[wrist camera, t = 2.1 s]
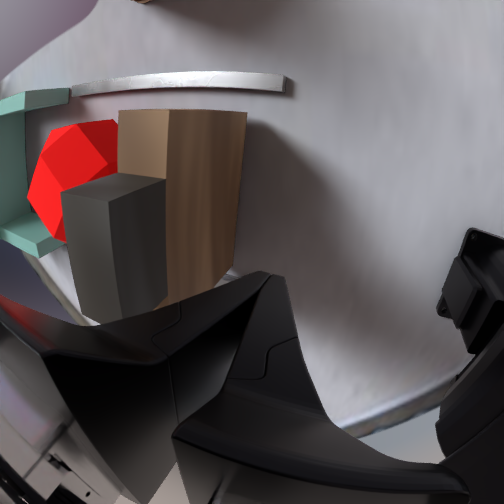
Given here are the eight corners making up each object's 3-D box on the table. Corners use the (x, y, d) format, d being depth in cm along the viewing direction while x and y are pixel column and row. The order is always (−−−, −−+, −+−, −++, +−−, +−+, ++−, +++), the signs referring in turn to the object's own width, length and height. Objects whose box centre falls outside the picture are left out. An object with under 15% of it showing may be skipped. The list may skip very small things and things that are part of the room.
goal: (69, 87, 20) (-5, 95, 13) (75, 238, 27) (15, 272, 20) (19, 100, 22) (-38, 111, 16) (27, 221, 29) (-22, 246, 22)
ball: (78, 173, 23) (10, 197, 17) (117, 102, 19) (37, 108, 13) (129, 236, 24) (64, 278, 17) (180, 170, 20) (102, 199, 13)
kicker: (247, 112, 16) (107, 112, 6) (232, 265, 20) (136, 379, 11) (209, 109, 17) (57, 116, 7) (201, 256, 21) (95, 356, 12)
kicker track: (286, 76, 15) (283, 74, 15) (258, 294, 22) (254, 300, 21) (78, 85, 20) (72, 86, 19) (84, 241, 26) (78, 244, 26)
